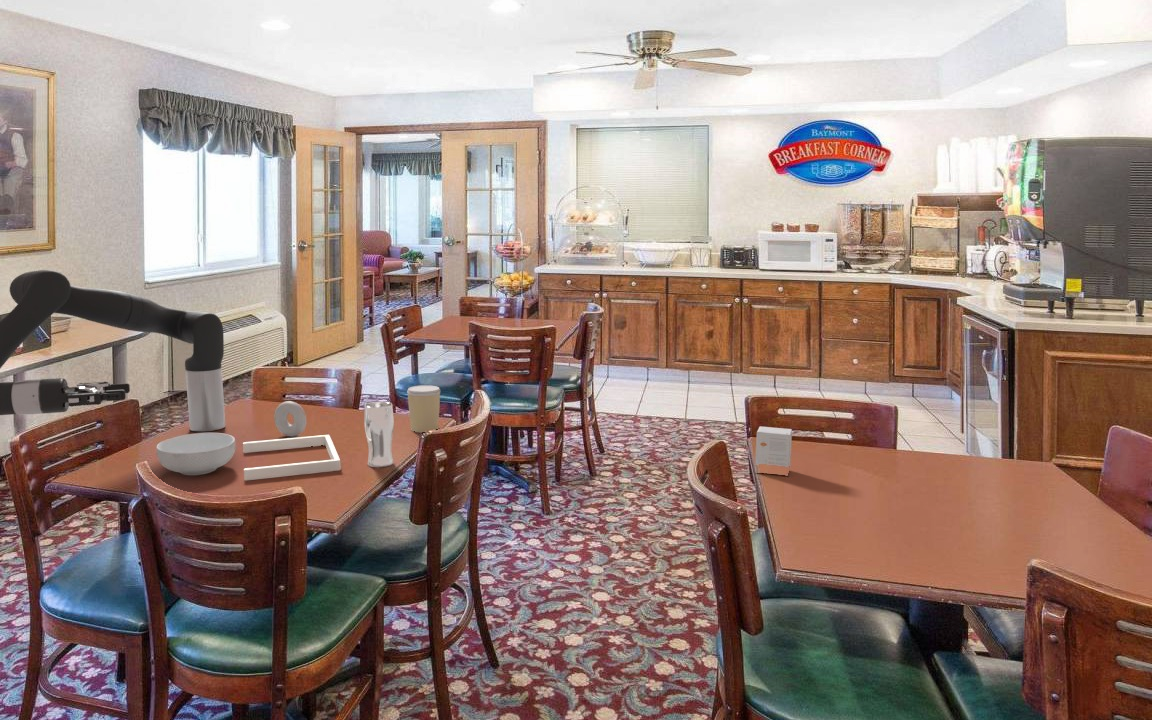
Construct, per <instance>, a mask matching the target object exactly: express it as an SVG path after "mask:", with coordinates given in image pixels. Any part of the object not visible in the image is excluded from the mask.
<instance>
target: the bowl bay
mask: <svg viewBox="0 0 1152 720" xmlns="http://www.w3.org/2000/svg"><path fill="white" fill-rule="evenodd" d="M321 445H323V446H325V447H326V450H327V453H328V456H329V458H330V459H326V460H325V459H323V460H314V461H306V462H305V461H303V462H296V463H285V464H275V465H268V466H265V465H264V466H257V467H246V468H243V476H244V477H243V479H244V481H245V482H246V481H252V480H253V481H254V480H255V481H256V480H264V479H273V478H280V477H281V478H282V477H289V476H300V475H309V474H311V475H312V474H318V473H327V472H328V473H329V472H334V471H335V472H337V471H338V472H339V471H341V468H342V467H341V459H340V457H339V455H338V454H339V453H338V452H337V450H336V447H335V445H334V442H333V440H332V438H331V436H330V434H323V435H313V436H311V435H309V436H300V437H299V436H296V437H287V438H277V439H267V440H255V441H245V442H242V450H243V454H247V453H257V452H268V451H269V452H270V451H279V450H290V449H301V448H309V447H310V448H311V446H313V447H321Z"/></svg>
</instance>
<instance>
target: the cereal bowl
mask: <svg viewBox="0 0 1152 720" xmlns="http://www.w3.org/2000/svg"><path fill="white" fill-rule="evenodd" d="M155 449H156V455H157V459H158V461H159V463H160V464H161V465H162V466H163V467H164V468H165V469H167V470H169V471H172V472H175V473H180V474H181V475H183V476H200V475H206V474H211V473H213V472H215V471H216V470H217V469H218V468H221V467H222V466H224V465H226V464H227V463H228V462H229V461H230V460H232V458H233V457H234V455H235V451H236V439H235V436H232V435H230V434H228V433H225V432H224V433H222V432H196V433H189V434H187V433H186V434H182V435H178V436H174V437H170V438H168V439H164V440H162V441H160V442H159V443H158V444H157V445H156V447H155Z"/></svg>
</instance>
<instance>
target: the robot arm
mask: <svg viewBox="0 0 1152 720" xmlns="http://www.w3.org/2000/svg"><path fill="white" fill-rule="evenodd" d="M9 294H10V296H11V299H12V300H13V301H14V302H15V303H16V306H14V308H13V309H12V310H11V311H10V312H9V313H8V314H7V315H5V317H4V318H2V319H1V320H0V369H2V368H3V366H4V365H5V363H7V361H8V360H9V359H10V358H11V356H13V354H14V352H16V351H17V350H18V348H20V346H21V345H22V344H23V343H24V342H25V341H26V339H28V338H29V337H30V335H32V333H33V332H35V330H37V329H38V328H39V327H40V326H41V325H42V324H43V323H44V322H45V321H46V320H48V318H50V317H51V316H52V315H54V314H60V315H61V314H62V315H67V316H71V317H76V318H79V319H81V320H82V319H83V320H87V321H90V322H93V323H97V324H101V325H104V326H109V327H112V328H117V329H122V330H127V331H133V332H140V333H150V334H151V333H152V334H153V333H155V334H159V335H164V336H167V337H170V338H173V339H176V340H179V341H181V342H184V343H187V344H191V345H192V347H193V351H192V352H193V353H192V354H191V356H190V357H188V358H186V359H185V361H184V369H185V381H186V383H185V384H186V393H187V394H186V395H187V410H188V424H189V430H190V431H192V432H200V433H203V432H212V431H213V432H214V431H218V430H221V429H224V428H225V427H226V418H225V417H226V415H225V400H224V384H223V371H222V362H223V358H224V355H225V352H224V349H225V348H224V347H225V345H224V341H225V340H224V325H223V323H222V320H221V319H220V317H219V316H217V314H215V313H212V312H206V311H198V310H197V311H196V310H183V309H175V308H169V307H166V306H162V305H160V304H158V303H156V302H154V301H153V300H150V299H148V298H146V297H143V296H140V295H137V294H132V293H129V292H124V291H121V290H114V289H105V288H97V287H96V288H95V287H94V288H92V287H84V286H83V287H82V286H74V285H71V283H70V281H69V278H67V277H66V276H65V275H64V274H63V273H62V272H59V271H57V270H52V269H41V270H40V269H39V270H34V271H33V270H32V271H27V272H24V273H22V274H19V275H18V276H16V277H15V278H14V279H13V280H12V281H11V283H10V285H9ZM101 388H102V389H101ZM130 391H131V388H130V384H129V383H128V382H127V383H125V382H124V383H110V382H108V381H102V382H100V381H99V382H80V383H77V384H76V386H71V387H70V386H68V382H67V380H66V379H65V378H63V377H61V378H60V377H58V378H39V379H27V380H19V381H8V382H7V381H6V382H5V381H4V382H0V416H10V415H12V416H13V415H40V414H41V415H43V414H56V413H57V414H59V413H67V411H68V410H69V407H71V408H72V407H77V406H78V407H80V406H81V407H82V406H92V405H96V406H97V405H100V404H103V403H106V402H113V401H115V402H117V401H124V400H126V398H127V397H126V394H129V393H130Z"/></svg>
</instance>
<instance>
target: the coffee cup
mask: <svg viewBox="0 0 1152 720" xmlns="http://www.w3.org/2000/svg"><path fill="white" fill-rule="evenodd" d="M406 394H407V403H408V413H409V422H410V423H409V424H410V431H412V432H414V431H415V432H414V433H422V432H425V431H429V430H433V429H438V430H439V422H440V404H441V403H440V400H441V397H440V396H441V389H440V387H439V386H437V385H428V384H427V385H425V384H424V385H413V386H410V387H408V388H407V391H406ZM422 434H423V433H422Z"/></svg>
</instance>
